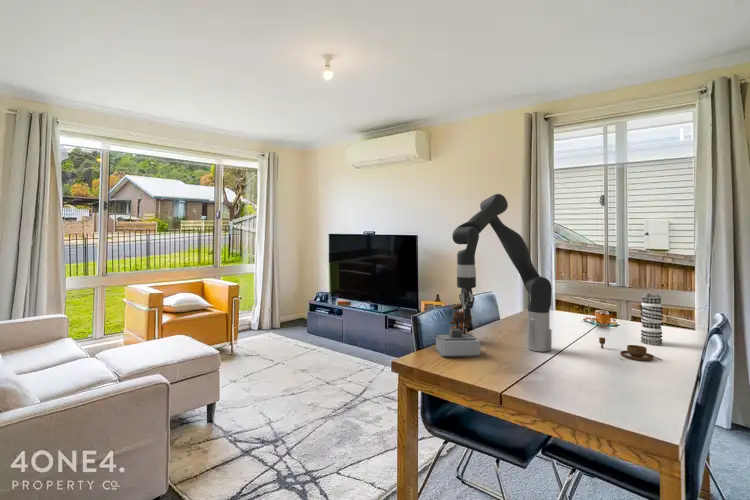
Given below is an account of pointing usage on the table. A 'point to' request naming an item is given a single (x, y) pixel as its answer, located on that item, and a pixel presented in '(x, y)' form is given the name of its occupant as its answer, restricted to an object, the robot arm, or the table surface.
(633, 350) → the place setting
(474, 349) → the grey drawer
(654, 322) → the decorative candle
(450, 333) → the grey drawer box
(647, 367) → the table surface
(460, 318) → the brown tall lumpy piece
